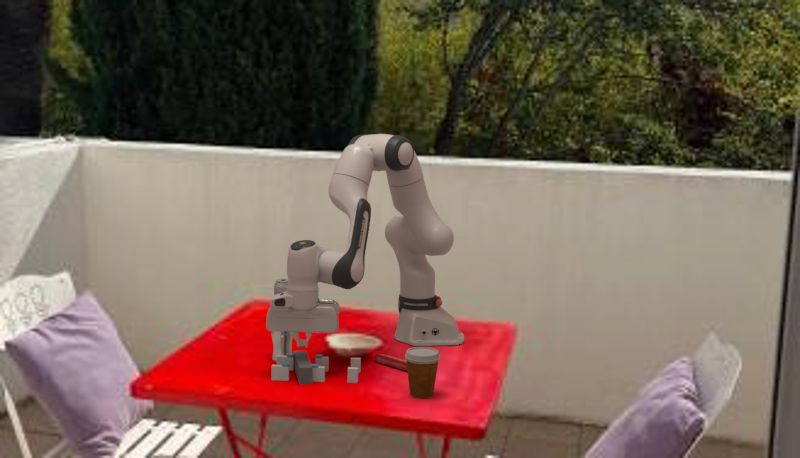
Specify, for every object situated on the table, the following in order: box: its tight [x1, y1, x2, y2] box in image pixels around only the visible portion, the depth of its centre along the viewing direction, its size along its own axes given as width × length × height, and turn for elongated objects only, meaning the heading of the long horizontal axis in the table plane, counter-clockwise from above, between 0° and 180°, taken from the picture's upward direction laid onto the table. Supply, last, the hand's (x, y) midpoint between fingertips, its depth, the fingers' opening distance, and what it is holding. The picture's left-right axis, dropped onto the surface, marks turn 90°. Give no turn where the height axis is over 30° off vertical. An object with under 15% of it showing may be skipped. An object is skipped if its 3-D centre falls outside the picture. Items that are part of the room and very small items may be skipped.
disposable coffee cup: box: [404, 346, 441, 399], centre depth 273 cm, size 10×10×12 cm
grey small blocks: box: [270, 353, 362, 384], centre depth 288 cm, size 24×10×5 cm, turn 87°
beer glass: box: [270, 331, 294, 363], centre depth 301 cm, size 7×7×15 cm
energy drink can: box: [273, 278, 288, 296], centre depth 340 cm, size 6×6×15 cm
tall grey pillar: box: [293, 350, 314, 386], centre depth 288 cm, size 4×16×5 cm, turn 12°
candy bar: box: [373, 353, 408, 372], centre depth 298 cm, size 16×4×3 cm, turn 47°
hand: (302, 346), depth 287 cm, fingers closed
